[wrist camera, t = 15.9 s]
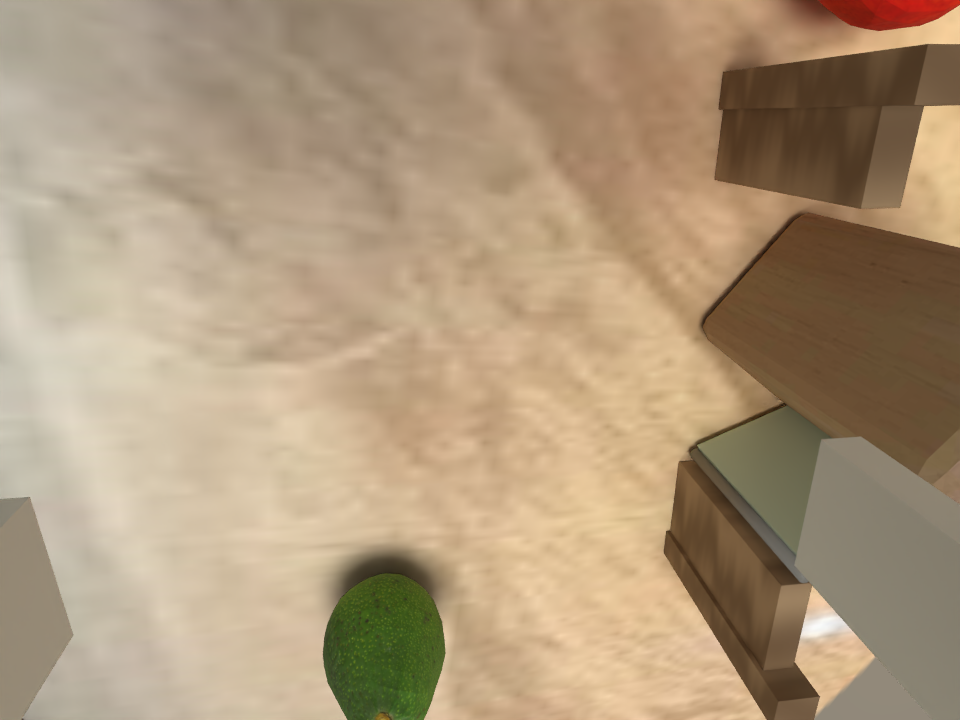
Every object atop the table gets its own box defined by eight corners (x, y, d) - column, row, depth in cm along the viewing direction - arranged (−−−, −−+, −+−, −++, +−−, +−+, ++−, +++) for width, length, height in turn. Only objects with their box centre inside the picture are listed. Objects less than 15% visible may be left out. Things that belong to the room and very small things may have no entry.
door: (933, 340, 44) (1136, 425, 32) (935, 355, 44) (1136, 444, 32) (688, 449, 45) (796, 572, 33) (692, 462, 45) (800, 588, 33)
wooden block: (890, 295, 43) (1268, 431, 24) (785, 404, 45) (1059, 606, 26) (799, 204, 40) (1154, 280, 21) (691, 326, 42) (927, 492, 23)
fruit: (314, 618, 46) (289, 776, 35) (353, 534, 44) (339, 673, 33) (415, 643, 49) (420, 800, 37) (456, 564, 46) (476, 705, 35)
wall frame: (723, 72, 36) (928, 44, 22) (762, 72, 36) (988, 44, 23) (663, 552, 48) (772, 728, 34) (693, 550, 49) (812, 723, 35)
